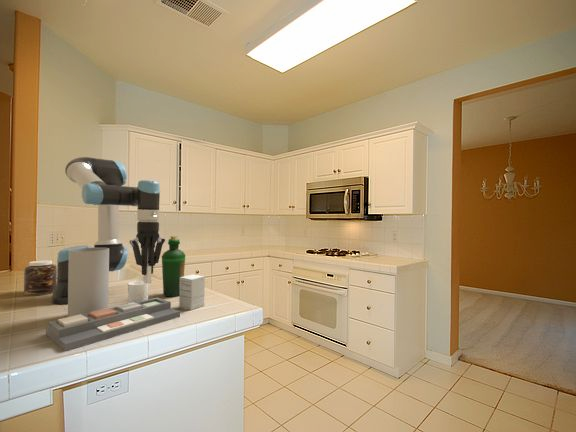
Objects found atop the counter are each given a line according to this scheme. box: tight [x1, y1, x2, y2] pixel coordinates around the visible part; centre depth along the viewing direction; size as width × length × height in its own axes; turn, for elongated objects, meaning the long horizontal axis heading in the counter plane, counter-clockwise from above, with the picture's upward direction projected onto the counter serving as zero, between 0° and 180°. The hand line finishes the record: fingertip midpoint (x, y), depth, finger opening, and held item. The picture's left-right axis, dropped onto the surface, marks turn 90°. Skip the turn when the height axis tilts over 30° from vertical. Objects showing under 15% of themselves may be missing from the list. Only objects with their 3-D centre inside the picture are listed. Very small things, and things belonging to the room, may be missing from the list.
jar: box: [23, 259, 57, 297], centre depth 138 cm, size 12×12×15 cm
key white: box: [57, 314, 88, 327], centre depth 91 cm, size 6×6×2 cm
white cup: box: [127, 279, 150, 303], centre depth 120 cm, size 8×8×10 cm
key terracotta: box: [89, 307, 116, 319], centre depth 98 cm, size 6×6×2 cm
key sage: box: [142, 301, 160, 307], centre depth 111 cm, size 6×6×2 cm
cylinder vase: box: [67, 247, 110, 317], centre depth 108 cm, size 12×12×25 cm
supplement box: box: [178, 274, 205, 311], centre depth 121 cm, size 7×7×13 cm
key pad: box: [45, 297, 181, 352], centre depth 100 cm, size 18×36×4 cm, turn 144°
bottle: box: [161, 235, 186, 298], centre depth 138 cm, size 11×11×28 cm
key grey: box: [115, 302, 141, 313], centre depth 105 cm, size 6×6×2 cm
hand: (147, 282), depth 110 cm, fingers closed
